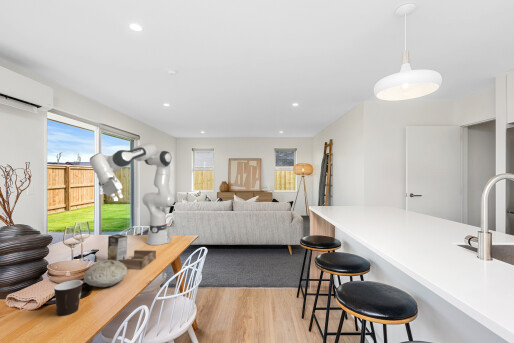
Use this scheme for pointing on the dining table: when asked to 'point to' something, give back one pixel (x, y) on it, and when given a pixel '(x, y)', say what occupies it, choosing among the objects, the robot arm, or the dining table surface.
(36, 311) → the dining table surface
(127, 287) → the dining table surface
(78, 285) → the coffee mug
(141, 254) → the brown wooden tray
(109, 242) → the coffee box
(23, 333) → the dining table surface
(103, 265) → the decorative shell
